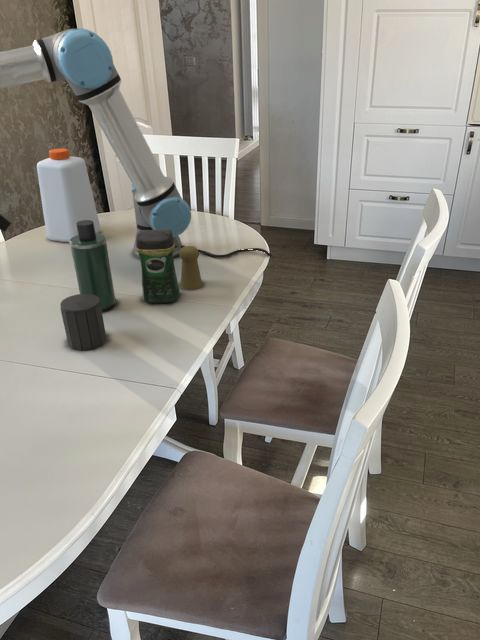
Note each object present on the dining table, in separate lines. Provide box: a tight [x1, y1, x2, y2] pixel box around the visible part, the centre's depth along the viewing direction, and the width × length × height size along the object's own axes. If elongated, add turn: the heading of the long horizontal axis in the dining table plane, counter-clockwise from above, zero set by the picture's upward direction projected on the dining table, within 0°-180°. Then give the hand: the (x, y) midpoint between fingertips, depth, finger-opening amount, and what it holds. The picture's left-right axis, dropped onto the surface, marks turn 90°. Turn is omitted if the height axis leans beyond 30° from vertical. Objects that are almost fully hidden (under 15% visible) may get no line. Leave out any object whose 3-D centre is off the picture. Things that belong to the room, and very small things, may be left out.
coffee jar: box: [135, 229, 181, 304], centre depth 140 cm, size 10×8×19 cm
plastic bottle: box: [36, 148, 102, 244], centre depth 179 cm, size 15×15×28 cm
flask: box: [69, 220, 117, 313], centre depth 135 cm, size 8×8×22 cm
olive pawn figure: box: [178, 245, 203, 291], centre depth 149 cm, size 6×6×11 cm
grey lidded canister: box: [59, 293, 107, 351], centre depth 123 cm, size 8×8×10 cm
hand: (0, 229), depth 128 cm, fingers open, 13 cm apart
